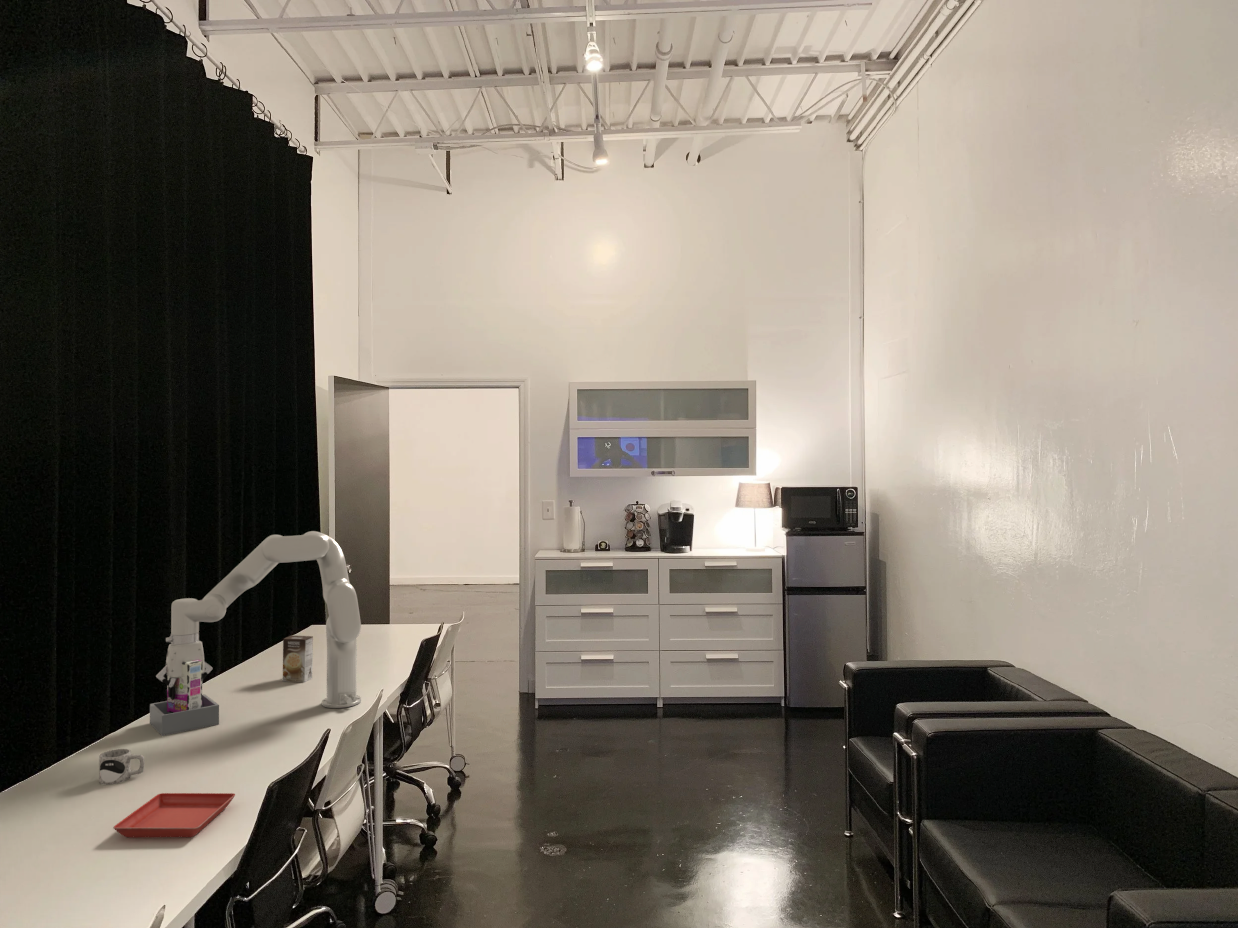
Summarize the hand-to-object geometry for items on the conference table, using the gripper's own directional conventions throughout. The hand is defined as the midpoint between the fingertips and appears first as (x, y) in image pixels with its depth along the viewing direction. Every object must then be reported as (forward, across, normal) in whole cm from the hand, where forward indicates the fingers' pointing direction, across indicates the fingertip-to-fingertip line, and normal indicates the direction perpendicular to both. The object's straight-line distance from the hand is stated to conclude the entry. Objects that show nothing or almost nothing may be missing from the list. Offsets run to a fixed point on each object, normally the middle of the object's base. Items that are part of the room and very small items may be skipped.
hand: (184, 695), depth 241 cm
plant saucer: (+9, -19, -74) cm, 77 cm away
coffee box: (+9, +45, +28) cm, 54 cm away
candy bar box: (+5, 0, 0) cm, 5 cm away
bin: (+9, 0, 0) cm, 9 cm away
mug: (+9, -23, -37) cm, 45 cm away
